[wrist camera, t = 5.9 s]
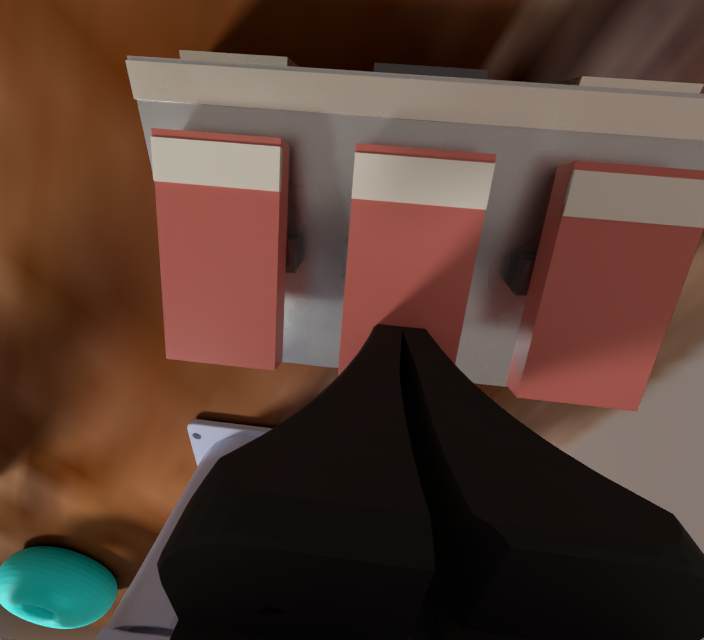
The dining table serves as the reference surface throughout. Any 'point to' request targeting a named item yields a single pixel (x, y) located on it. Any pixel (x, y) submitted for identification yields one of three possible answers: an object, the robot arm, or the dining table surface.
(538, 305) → the rocker
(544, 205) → the console
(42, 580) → the donuts
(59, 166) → the dining table surface
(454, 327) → the rocker
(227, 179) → the rocker
